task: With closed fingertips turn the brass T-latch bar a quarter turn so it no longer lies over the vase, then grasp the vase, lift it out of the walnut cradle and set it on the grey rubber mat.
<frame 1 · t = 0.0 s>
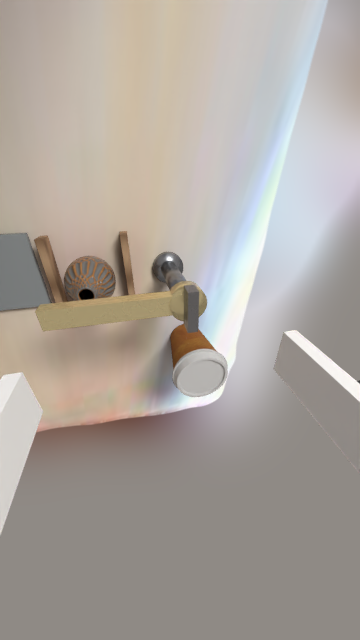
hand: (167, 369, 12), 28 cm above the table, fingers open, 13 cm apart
latch: (128, 312, 25), point 14 cm above the table, hinge at 0.0°
cradle: (93, 273, 36), on the table
post: (167, 266, 38), on the table
disposable coffee cup: (184, 335, 46), on the table
vase: (93, 272, 36), on the table
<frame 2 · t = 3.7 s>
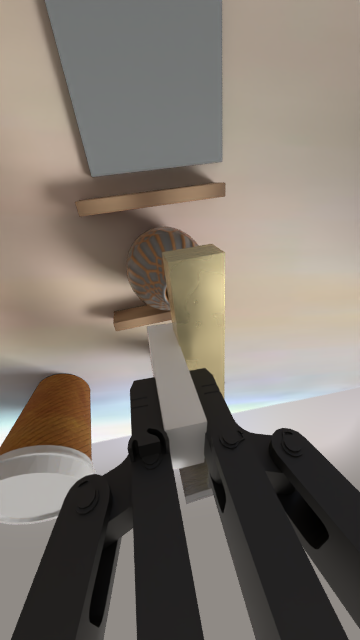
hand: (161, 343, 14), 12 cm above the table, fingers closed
latch: (207, 404, 14), point 14 cm above the table, hinge at 0.0°, touching gripper
mat: (146, 77, 16), on the table
cradle: (160, 258, 23), on the table
disposable coffee cup: (64, 390, 29), on the table
vase: (159, 257, 23), on the table
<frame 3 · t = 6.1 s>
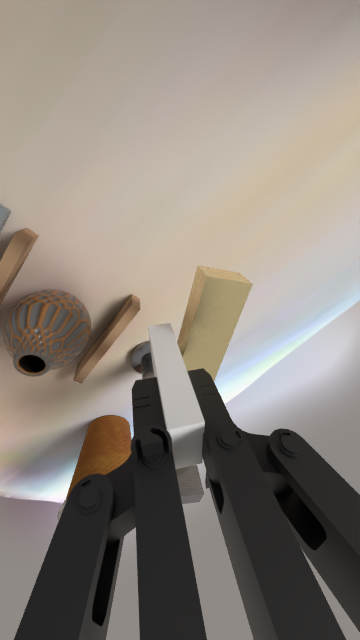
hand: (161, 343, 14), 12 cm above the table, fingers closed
latch: (185, 413, 15), point 14 cm above the table, hinge at 62.9°, touching gripper
cradle: (61, 311, 24), on the table
post: (150, 356, 30), on the table
disposable coffee cup: (109, 426, 36), on the table
vase: (61, 310, 24), on the table
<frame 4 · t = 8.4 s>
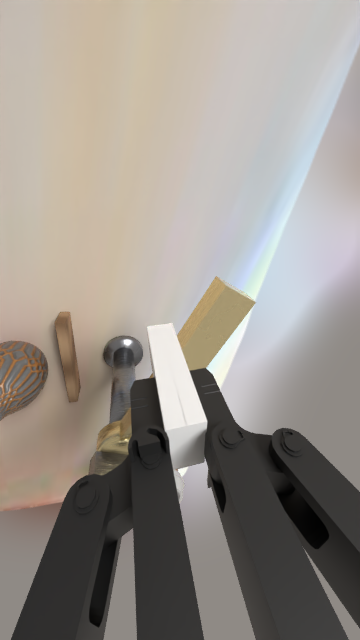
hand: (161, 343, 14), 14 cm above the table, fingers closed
latch: (165, 401, 16), point 14 cm above the table, hinge at 115.1°
cradle: (22, 355, 27), on the table
post: (123, 351, 30), on the table
vase: (23, 354, 28), on the table
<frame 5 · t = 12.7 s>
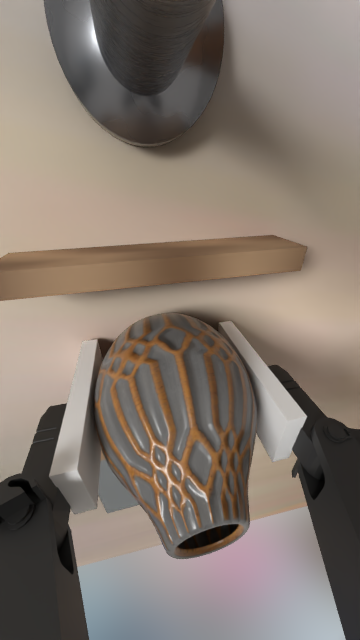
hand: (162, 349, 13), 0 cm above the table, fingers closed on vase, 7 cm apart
mat: (159, 463, 20), on the table
cradle: (162, 346, 13), on the table
post: (139, 47, 7), on the table
vase: (161, 344, 14), on the table, touching gripper
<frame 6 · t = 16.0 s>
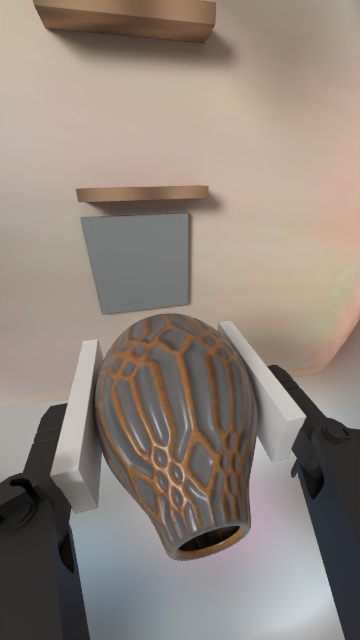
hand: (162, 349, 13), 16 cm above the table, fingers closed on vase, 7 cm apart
mat: (141, 266, 26), on the table
cradle: (137, 121, 20), on the table
vase: (161, 344, 14), point 16 cm above the table, touching gripper
when the fingers open (2 cm above the table, at t = 18.8 s): vase drops 1 cm, resting on mat.
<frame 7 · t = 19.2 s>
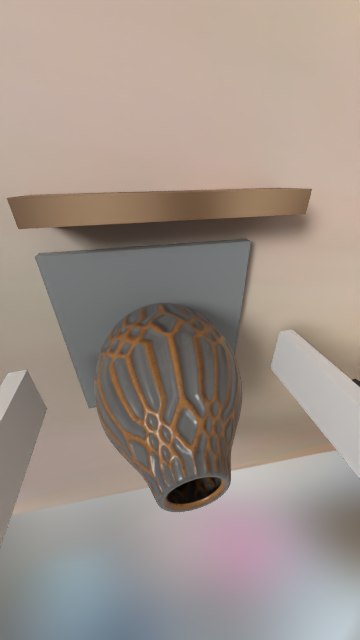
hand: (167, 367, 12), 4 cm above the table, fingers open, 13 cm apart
mat: (157, 330, 15), on the table
cradle: (160, 33, 8), on the table
vase: (157, 334, 14), resting on mat
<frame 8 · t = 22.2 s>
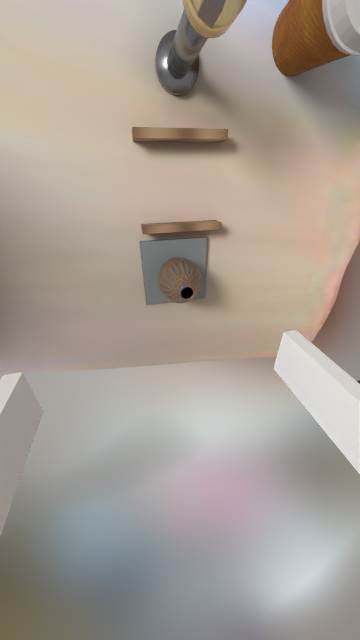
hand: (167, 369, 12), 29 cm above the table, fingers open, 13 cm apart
mat: (174, 271, 39), on the table
cradle: (178, 185, 33), on the table
post: (176, 66, 26), on the table
disposable coffee cup: (294, 40, 28), on the table
vase: (174, 272, 39), resting on mat
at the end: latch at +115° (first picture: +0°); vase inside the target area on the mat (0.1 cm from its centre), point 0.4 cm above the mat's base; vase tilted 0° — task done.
